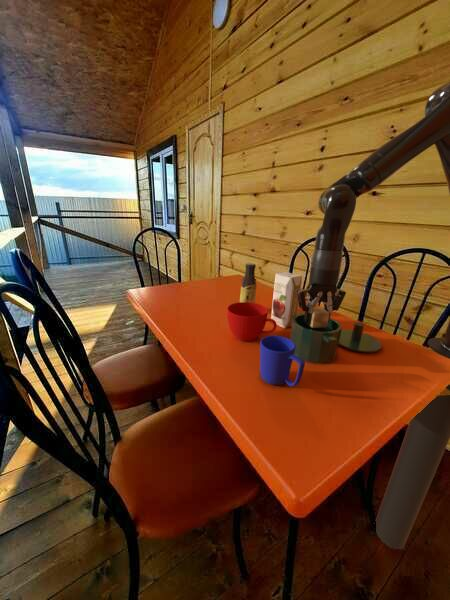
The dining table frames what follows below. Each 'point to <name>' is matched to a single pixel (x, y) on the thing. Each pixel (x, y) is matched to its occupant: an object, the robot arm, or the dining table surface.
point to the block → (319, 317)
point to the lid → (359, 340)
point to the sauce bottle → (248, 284)
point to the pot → (315, 340)
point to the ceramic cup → (248, 320)
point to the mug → (278, 360)
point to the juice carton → (285, 298)
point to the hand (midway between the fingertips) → (316, 323)
